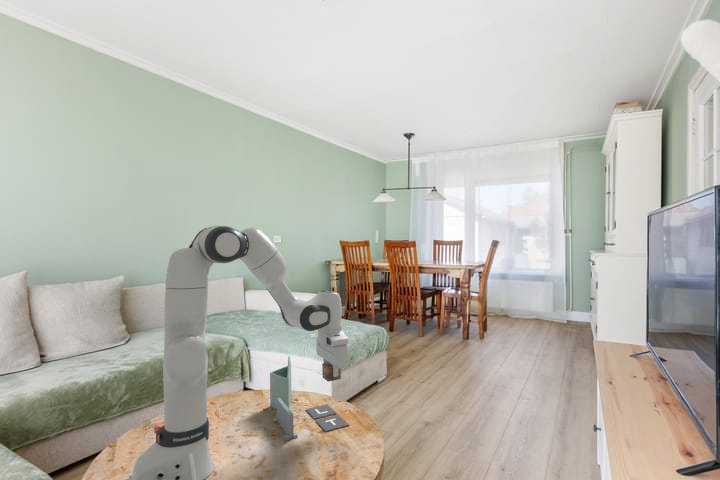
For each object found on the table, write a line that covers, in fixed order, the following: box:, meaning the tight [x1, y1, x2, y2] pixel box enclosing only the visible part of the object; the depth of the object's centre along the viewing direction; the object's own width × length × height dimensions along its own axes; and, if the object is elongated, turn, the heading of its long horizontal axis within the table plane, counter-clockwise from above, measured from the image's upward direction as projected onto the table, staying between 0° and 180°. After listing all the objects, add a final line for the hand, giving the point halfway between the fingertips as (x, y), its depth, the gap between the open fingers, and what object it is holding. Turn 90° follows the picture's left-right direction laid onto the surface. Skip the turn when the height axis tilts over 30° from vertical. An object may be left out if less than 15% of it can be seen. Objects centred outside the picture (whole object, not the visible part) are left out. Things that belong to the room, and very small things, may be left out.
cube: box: [321, 362, 342, 382], centre depth 135 cm, size 5×5×5 cm
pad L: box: [305, 404, 338, 421], centre depth 143 cm, size 9×9×1 cm
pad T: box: [315, 414, 350, 433], centre depth 134 cm, size 9×9×1 cm
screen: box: [272, 397, 299, 441], centre depth 131 cm, size 4×16×8 cm, turn 28°
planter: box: [269, 355, 292, 410], centre depth 150 cm, size 16×8×20 cm, turn 7°
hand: (331, 373), depth 135 cm, fingers closed on cube, 5 cm apart
